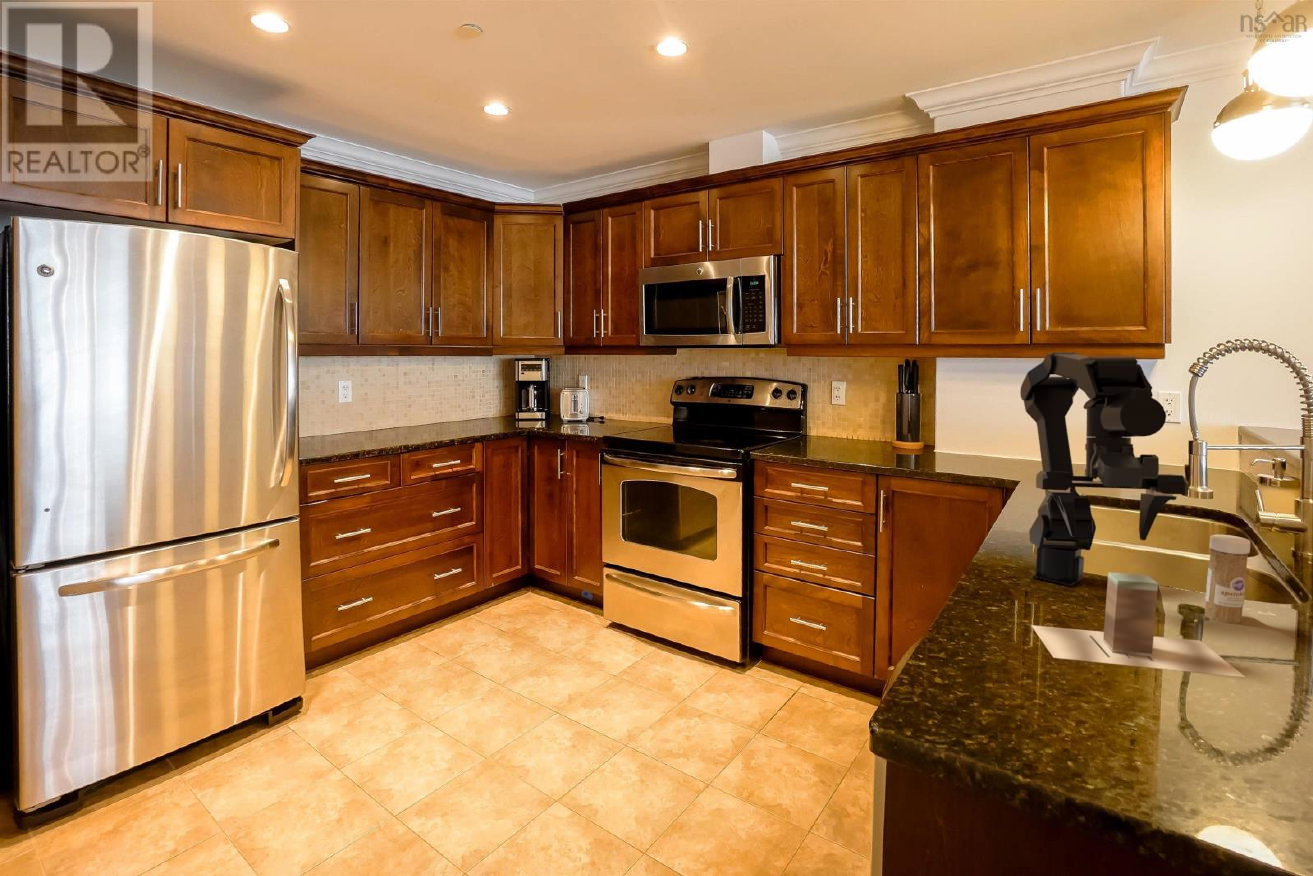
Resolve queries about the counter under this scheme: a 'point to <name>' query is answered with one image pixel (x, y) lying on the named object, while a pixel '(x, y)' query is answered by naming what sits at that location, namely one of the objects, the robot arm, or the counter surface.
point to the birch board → (1164, 655)
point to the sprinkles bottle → (1226, 578)
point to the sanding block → (1130, 614)
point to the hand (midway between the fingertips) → (1107, 538)
